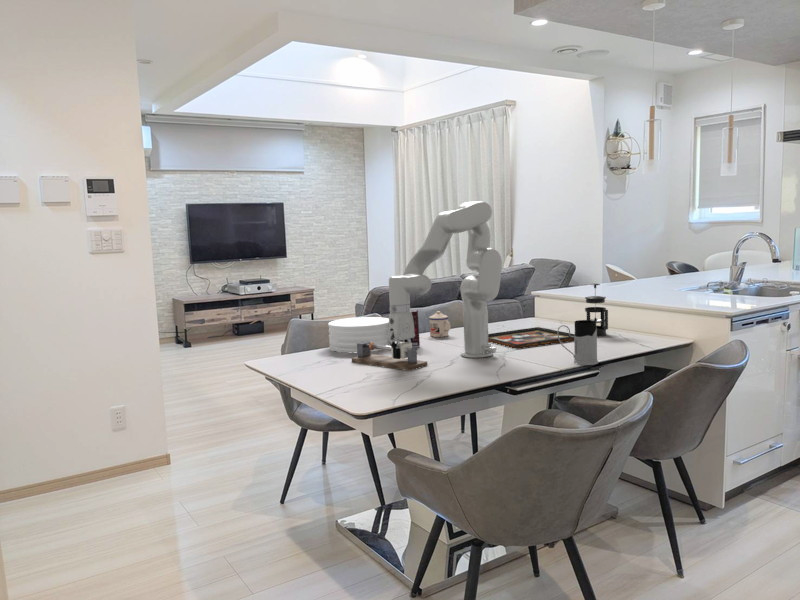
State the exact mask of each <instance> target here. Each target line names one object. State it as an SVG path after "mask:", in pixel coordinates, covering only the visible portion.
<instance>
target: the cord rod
mask: <svg viewBox="0 0 800 600" xmlns="http://www.w3.org/2000/svg"><path fill="white" fill-rule="evenodd" d="M374 349H381V351H389V352H391V346H383V345H375V344H374V343H370V342H360V343H357V353H356V355H357V357H361V358H364V357H368V356H371V354H372V352H371V350H374ZM417 350H418V349H417V348H411V349H408V348H406V353H407V359H408V364H414V363H417V360H418V353H417Z"/></svg>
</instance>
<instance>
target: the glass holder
mask: <svg viewBox="0 0 800 600" xmlns="http://www.w3.org/2000/svg"><path fill="white" fill-rule="evenodd" d="M596 326H597V323H596V321H593V320H587V319H583V320H582V319H578V320H575V321H574V334H575V335H574V336H571V335H570V333H571V330H570V327H569V326H568V325H565V324H564V325H563V324H562V325H560V326H558V328H557V330H556V331H557V334H558V339H559V333H558V332H559V331H560V328H562V327H564V328H565V327H566V328H567V330H568V333H569V335H570V336H571V337H574V341H573V342H574V345H573V346H574V349H573V351H574V353H573V352H572V351H571V350H570V349H568V348H567V347H566V346H565V345H564V344H563V343H561V341H560V339H559V341H560V343H559V344H560V345H561V346H562V348H564V349H565V350H567V351H568V352H569V353H570V354H572V355H573V359H574V360H573V362H574V363H573V362H572V363H573V364H575V363H577V364H576V365H578V364H582V365H581V366H594V365H598V364H599V360H598V336H597V327H596Z"/></svg>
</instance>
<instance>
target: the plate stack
mask: <svg viewBox="0 0 800 600" xmlns="http://www.w3.org/2000/svg"><path fill="white" fill-rule="evenodd" d="M327 326H328V333H329V334H328V338H329V340H328V343H329V346H328V347H329V351H331V350H332V352H334V351H337V352H336V353H341V352H357V343H360V342H370V343H374V344H375V345H383V346H391V345H390V344H389V343H388V342H387V339H388V336H389V330H388V328H389V317H383V316H382V317H379V316H363V317H362V316H358V317H348V318H346V317H345V318H341V319H339V318H338V319H335V320H332V321H329V322H328V324H327ZM378 350H381V349H374V350H371V351H375V352H379V351H378ZM381 351H382V350H381Z"/></svg>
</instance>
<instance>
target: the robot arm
mask: <svg viewBox="0 0 800 600" xmlns="http://www.w3.org/2000/svg"><path fill="white" fill-rule="evenodd" d="M492 211H493V210H492V207H491V205H490V204H489V203H488V202H486V201H483V200H477V201H465V202H463V203H461V204H460V205H459V206H458V207H457V209H455V210H445V211H441V212H440V213H438V214H437V215H436V217H435V219H434V221H433V222H432V224H431V227H430V229H429V232H428V234H427V236H426V237H425V240H424V242H423V244H422V246H421V247H420V248H419V249H418V250H417V252H415V254H414V255H413V257H412V258H411V259H410V260H409V261H408V264H407V266H406V267H405V269H404V271H403V274H402V275H392V276H390V277H389V278H388V293H389V294H388V295H389V308H388V309H389V317H388V318H389V328H388V330H389V336H388V339H387V342H388V343H389V344H390V345H391V347H392V348H393V358H394V359H400V358H401V355H400V348H399V344H400V341H402V340H403V342H408V343H411V342H412V340H413V338H414V336H415V333H414V322H413V316H412V312H410V310H411V299H410V298H411V296H410V295H424V294H426V293H428V292H429V291H430V290H431V288H432V281H431V279H430V278H429V277H428V276H427V275H425V274H424V273H425V271H426V270H427V268H428V267H429V266H431V264H433V263H434V262H436V261H437V260H439V259H440V258H441V257H442V256H443V255H444V254H445V252H446V250H447V247H448V245H449V244H450V241H451V238H453V235H454V234H460V233H464V232H467V233H468V234H467V236H468V238H467V239H468V241H467V251H466V252H467V253H466V260H465V261H466V263H465V264H466V266H467V269H469V270H470V271H472V272H476V273H478V274H477V275H475V274H474V275H468V276H466V277H464V278H463V280H462V281H461V283H460V295H461V300H462V311H463V336H464V337H463V338H464V339H463V343H464V345H463V347H464V350H462V351H461V352H460V356H462V357H464V358H472V359H474V358H475V359H477V358H479V359H480V358H488V357H491V356H493V354H495V353H496V351H497V347H495V346H492V343H490V342H489V341H488V334H489V310H488V306H487V302H491V301H493V300H495V299H496V298H497V297H498V294H499V291H500V286H501V279H502V267H503V261H502V256H501V254H500V252H499V251H498V250H497V249H495V248H492V247H491V230H490V228H489V225H488V221H490V219H491V217H492V215H493V214H492V213H493V212H492Z"/></svg>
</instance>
